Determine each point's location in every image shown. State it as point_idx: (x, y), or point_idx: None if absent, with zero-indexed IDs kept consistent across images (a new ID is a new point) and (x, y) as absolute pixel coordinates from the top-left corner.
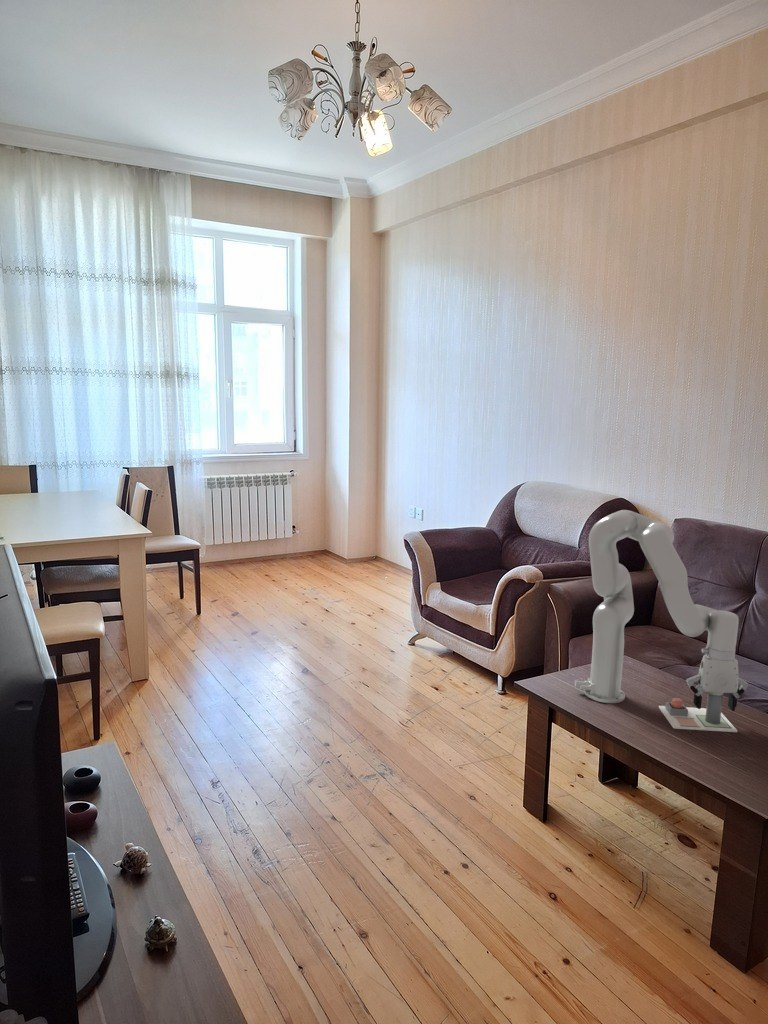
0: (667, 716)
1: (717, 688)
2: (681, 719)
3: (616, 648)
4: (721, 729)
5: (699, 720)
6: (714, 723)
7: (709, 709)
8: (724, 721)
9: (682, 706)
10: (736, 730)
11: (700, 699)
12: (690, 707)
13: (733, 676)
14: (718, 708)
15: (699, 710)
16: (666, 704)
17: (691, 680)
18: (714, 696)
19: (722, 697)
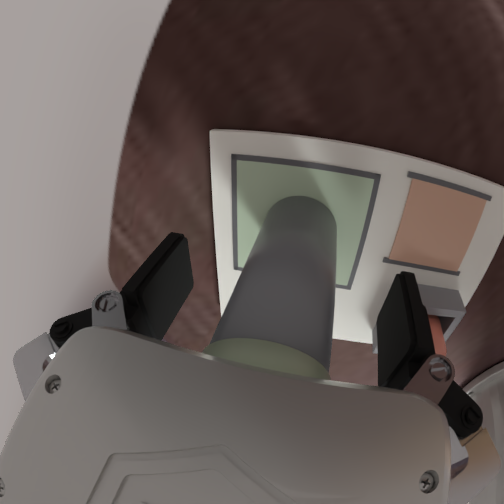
0: (475, 283)
1: (282, 426)
2: (446, 254)
3: None
4: (296, 140)
5: (365, 241)
6: (309, 198)
7: (333, 264)
8: (238, 223)
9: None
10: (214, 132)
11: (420, 326)
12: None
13: (27, 494)
14: (278, 251)
15: None
16: None
17: (480, 480)
18: (304, 339)
19: (221, 323)
